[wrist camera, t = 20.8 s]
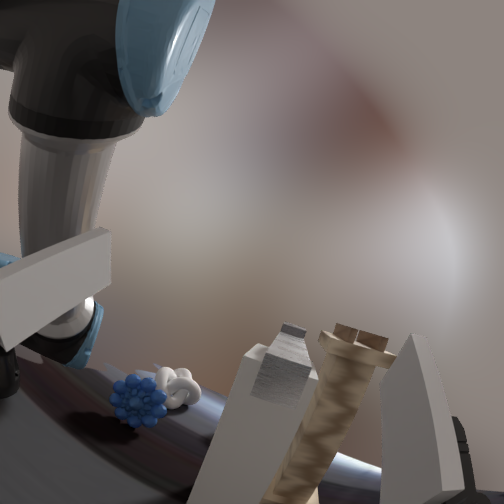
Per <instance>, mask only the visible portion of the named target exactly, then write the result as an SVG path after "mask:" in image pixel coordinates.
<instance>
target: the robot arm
mask: <svg viewBox="0 0 504 504" xmlns="http://www.w3.org/2000/svg"><path fill="white" fill-rule="evenodd" d="M214 3H215V0H0V69H3V70H8V71H11V72H14V79H13V84H12V89H11V95H10V101H9V108H8V115H9V118H10V120H11V121H12V123H13V124H14V125H15V126H16V127H17V128H18V129H20V130H21V131H22V140H21V149H20V163H19V188H18V189H19V190H18V197H19V198H18V204H19V205H18V206H19V229H20V243H21V253H22V259H21V258H18V257H15V256H12V255H8V254H4V253H0V398H5V397H9V396H11V395H13V394H15V393H16V392H17V390H18V389H19V382H20V373H19V368H18V363H17V358H16V353H15V348H14V347H15V346H16V345H17V344H21V345H23V346H25V347H27V348H29V349H31V350H33V351H35V352H37V353H39V354H41V355H43V356H45V357H48V358H50V359H52V360H54V361H57V362H59V363H61V364H62V365H64V366H66V367H68V366H69V367H72V368H75V369H83V368H84V367H85V366H86V364H87V362H88V360H89V357H90V354H91V350H92V348H93V345H94V343H95V340H96V337H97V334H98V331H99V328H100V324H101V321H102V318H103V312H104V309H103V307H102V306H101V305H99V304H98V303H97V302H96V301H93V295H94V294H95V293H97V292H98V291H100V290H102V289H104V288H105V287H107V286H108V285H110V284H111V231H109V230H107V229H104V228H102V227H99V228H96V229H94V228H95V223H96V218H97V214H98V209H99V205H100V200H101V196H102V192H103V187H104V184H105V180H106V177H107V172H108V169H109V166H110V162H111V158H112V156H113V153H114V149H115V146H116V143H117V142H118V141H120V140H122V139H125V138H127V137H129V136H132V135H133V134H135V133H136V132H137V131H138V130H139V129H140V128H141V126H142V123H143V121H144V118H145V117H150V116H154V117H157V116H161V115H162V114H164V113H165V112H166V111H167V110H168V109H169V107H170V106H171V104H172V103H173V101H174V99H175V98H176V96H177V94H178V92H179V90H180V87H181V85H182V83H183V80H184V77H185V76H186V75H187V73H188V71H189V69H190V67H191V65H192V62H193V60H194V58H195V55H196V53H197V50H198V48H199V46H200V43H201V41H202V38H203V36H204V33H205V30H206V28H207V25H208V22H209V20H210V17H211V14H212V10H213V7H214ZM380 397H381V419H382V475H381V494H380V504H491V502H490V500H489V499H488V498H487V496H486V495H484V494H482V493H477V492H476V488H475V481H474V474H473V468H472V463H471V458H470V454H468V453H469V448H468V444H466V442H467V439H466V435H465V431H464V428H463V427H462V424H461V423H460V421H459V420H458V418H457V417H453V416H451V413H450V409H449V405H448V402H447V398H446V395H445V391H444V388H443V384H442V381H441V378H440V374H439V371H438V368H437V365H436V362H435V359H434V356H433V353H432V351H431V348H430V345H429V342H428V340H427V337H424V336H420V335H417V334H413V333H411V334H410V335H409V337H408V339H407V340H406V342H405V344H404V346H403V347H402V349H401V351H400V352H399V354H398V356H397V357H396V359H395V360H394V362H393V364H392V365H391V367H390V368H389V370H388V371H387V373H386V374H385V376H384V378H383V379H382V380H381V382H380Z"/></svg>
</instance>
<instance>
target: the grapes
mask: <svg viewBox="0 0 504 504" xmlns="http://www.w3.org/2000/svg"><path fill="white" fill-rule="evenodd" d="M156 386H157V384H156V381H155V380H154V379H152V378H144V379H143V380H142V381H141V379H140V377H139V376H138V375H136V374H131V375H128V376H127V377H126V379H125V381H122V380H121V381H116V382H115V383H114V385H113V389H114V391H115V392H116V393H113V394H112V395H110V398H109V401H110V403H111V404H112V406H115V407H117V408H116V409H115V416H116V417H117V418H118V419H121V420H125V419H127V418H128V419H127V423H128V424H129V426H130V427H133V428H138V427H140V426H141V424H143V425H144V426H145V427H149V428H150V427H154V426H155V425H156V423H157V418H163V417H165V416H166V414H167V408H166V407H165V406H164V405H162V404H163V403H164V402H165V401H166V399H167V394H166V393H165V392H164V391H163V390H155V388H156Z"/></svg>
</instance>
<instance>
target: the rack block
mask: <svg viewBox="0 0 504 504" xmlns="http://www.w3.org/2000/svg"><path fill="white" fill-rule="evenodd" d="M268 349H269V347H267V346H264V345H261V344H256V345H255V346H254V347H253V348H252V349H251V350H249V351H248V352H247V353H246V354H245V355H244V356H243V359H242V361H241V364H240V367H239V369H238V372H237V375H236V378H235V380H234V383H233V386H232V388H231V391H230V394H229V397H228V399H227V402H226V405H225V407H224V410H223V413H222V415H221V418H220V420H219V423H218V426H217V428H216V431H215V433H214V436H213V439H212V441H211V444H210V446H209V449H208V451H207V454H206V457H205V459H204V462H203V464H202V467H201V469H200V472H199V474H198V477H197V479H196V482H195V484H194V486H193V489H192V491H191V494H190V496H189V499H188V501H187V503H186V504H259V502H260V501H261V499H262V497H263V496H264V494H265V492H266V490H267V489H268V487H269V485H270V483H271V481H272V479H273V478H274V476H275V474H276V472H277V470H278V468H279V466H280V464H281V462H282V461H283V459H284V457H285V455H286V453H287V451H288V449H289V447H290V444H291V442H292V440H293V438H294V436H295V434H296V432H297V430H298V428H299V425H300V423H301V421H302V419H303V417H304V414H305V412H306V410H307V407H308V405H309V403H310V400H311V398H312V396H313V393H314V391H315V388H316V386H317V383H318V381H319V379H318V376H317V373H316V370H315V367H314V364H313V361H310V362H311V365H312V369H311V372H310V374H309V377H308V380H307V382H306V385H305V387H304V390H303V392H302V394H301V397H300V399H299V402H298V404H297V406H296V409H295V410H294V409H290V408H287V407H284V406H281V405H278V404H275V403H271V402H268V401H265V400H263V399H260V398H257V397H254V396H251V395H250V393H251V390H252V388H253V385H254V383H255V380H256V377H257V375H258V372H259V369H260V367H261V364H262V361H263V359H264V356H265V353H266V351H267V350H268Z"/></svg>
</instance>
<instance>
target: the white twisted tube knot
mask: <svg viewBox="0 0 504 504" xmlns="http://www.w3.org/2000/svg"><path fill="white" fill-rule="evenodd" d="M155 381H156V384H157V386H156V388H155V390H163V391H164V392H165V393H166V394H167V399H166V401H165V402H164V403H163V404H162V405H164V406H165V407H166V408H169V409H176V408H178V407H180V406H181V405H182V404H185V405H193V404H195V403H197V402H198V401H199V400H200V398H201V389H200V387H199V385H198V384H197V383H196V382H195V381H194V380H192V375H191V373H190V371H189V370H187V369H185V368H179V369H176V370H172V369H171V368H169V367H163V368H161V369H160V370H158V372H157V374H156V376H155ZM188 393H189V394H188ZM170 395H173V396H172V397H171V396H170Z"/></svg>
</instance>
